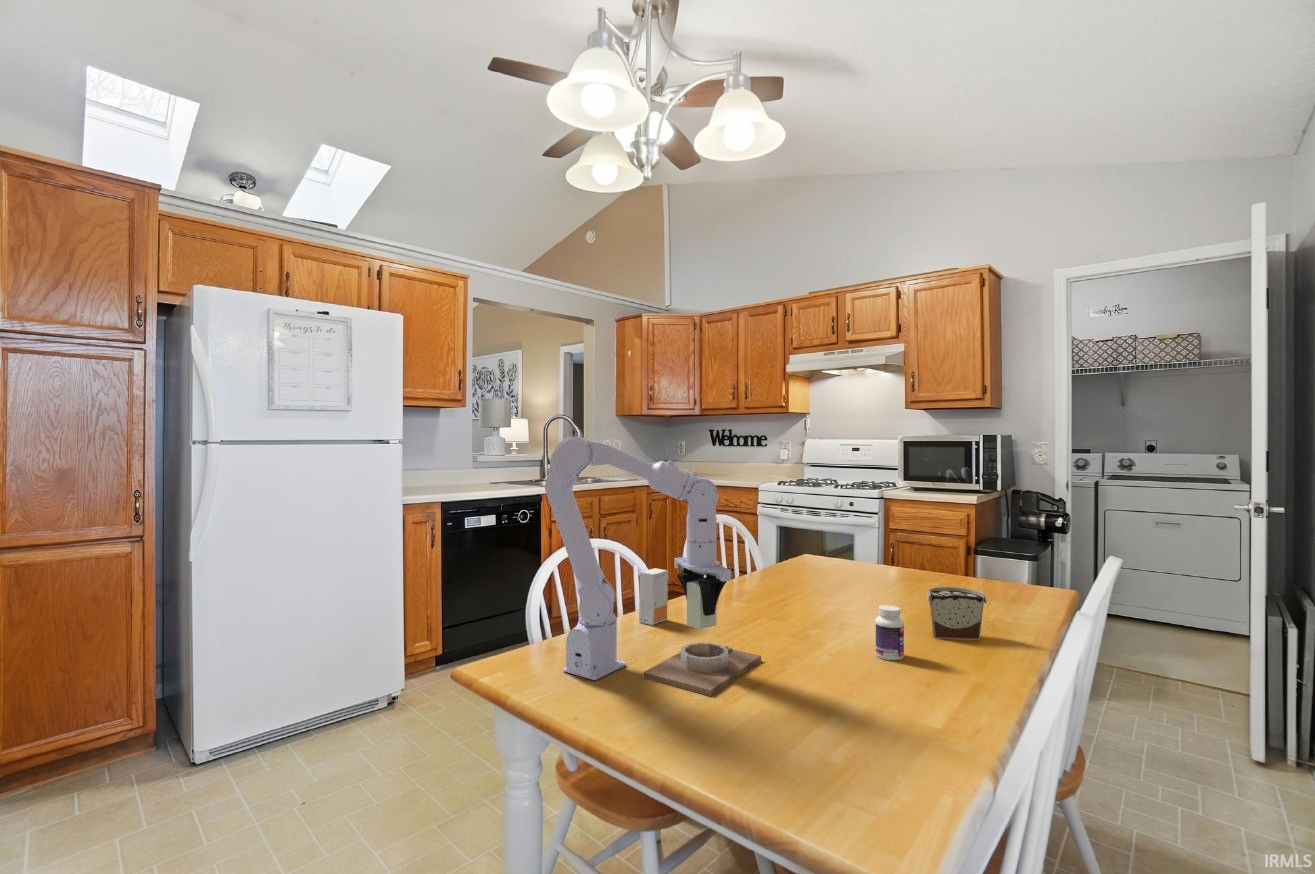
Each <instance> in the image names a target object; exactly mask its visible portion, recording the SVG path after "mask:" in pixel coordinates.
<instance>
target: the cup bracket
mask: <svg viewBox="0 0 1315 874" xmlns="http://www.w3.org/2000/svg"><path fill="white" fill-rule="evenodd" d="M761 661H762V655H760V654H756V653H751V652H746V651H742V650H737V649H734V648H732V647H729V646H727V645H725V646H723V645H722V644H718V643H713V642H705V641H704V642H700V641H698V642H692V643H688V644H686V645H683V646H682V647H681V648H680V652H678V653H676V654H674V655H672V656H671V657H669V658H667V659H665V660H663V661H661V662H659V663H658V664H656V665H654V666H652V667H649V668H648V669H647V670H644V671H643V676H642V677H643V679H646V680H647V679H648V680H651V681H655V682H658V683H662V684H665V685H668V686H669V685H670V686H672V687H676V688H680V689H682V690H686V691H691V692H693V693H698V694H701V695H705V696H708V697H711V696H713V695H715V694H716V693H717V692H719V691H720V690H721V689H723V688H724V687H726V686H728V685H729V684H730V683H731V682H733V681H734V680H736V679H737V678H739V677H740V676H742V675H743V674H745V673H746V672H747V671H749V670H750V669H752V668H753V667H754V666H756V665H758V663H760V662H761Z"/></svg>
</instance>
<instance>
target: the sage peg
mask: <svg viewBox="0 0 1315 874" xmlns="http://www.w3.org/2000/svg"><path fill="white" fill-rule="evenodd" d="M686 625H688V626H691V627H694V628H696V629H698V630H703V629H708V628H711V627H716V626H717V608H716V609H715V613H714V615H709V616H705V615H704V613H703V603H702V594H701V590H700V586H699V584H698V581H697V580H696V581H691V582H687V600H686Z"/></svg>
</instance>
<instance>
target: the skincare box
mask: <svg viewBox="0 0 1315 874" xmlns="http://www.w3.org/2000/svg"><path fill="white" fill-rule="evenodd" d="M668 582H669V571H668V570H666V569H661V568H656V567H655V568H651V569H647V570H643V571H640V572H639V595H638V597H639V599H638V601H639V606H638V607H639V608H638V613H639V614H638V618H639V619H638V622H639V623H640V622H641V623H640V624H644V625H645V624H646V625H650V626H654V625H656V624H659V622H660V623H663V622H665V621H667V620H668V595H669V593H668V592H669V591H668V590H669V586H668V584H669V583H668Z"/></svg>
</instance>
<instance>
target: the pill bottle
mask: <svg viewBox="0 0 1315 874" xmlns="http://www.w3.org/2000/svg"><path fill="white" fill-rule="evenodd" d="M878 615H879V616H877V617H875V619H874V654H875V656H876V657H878V658H879V659H882V660H885V661H886V660H887V661H900V660H902V659H904V655H905V654H904V652H905V650H904V649H905V648H904V647H905V646H904V644H905V643H904V641H905V624H904V621H903V620H902V619H901V618H900V616H901V608H900V607H898V606H896V605H889V604H888V605H886V604H885V605H884V604H883V605H879V606H878Z"/></svg>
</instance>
